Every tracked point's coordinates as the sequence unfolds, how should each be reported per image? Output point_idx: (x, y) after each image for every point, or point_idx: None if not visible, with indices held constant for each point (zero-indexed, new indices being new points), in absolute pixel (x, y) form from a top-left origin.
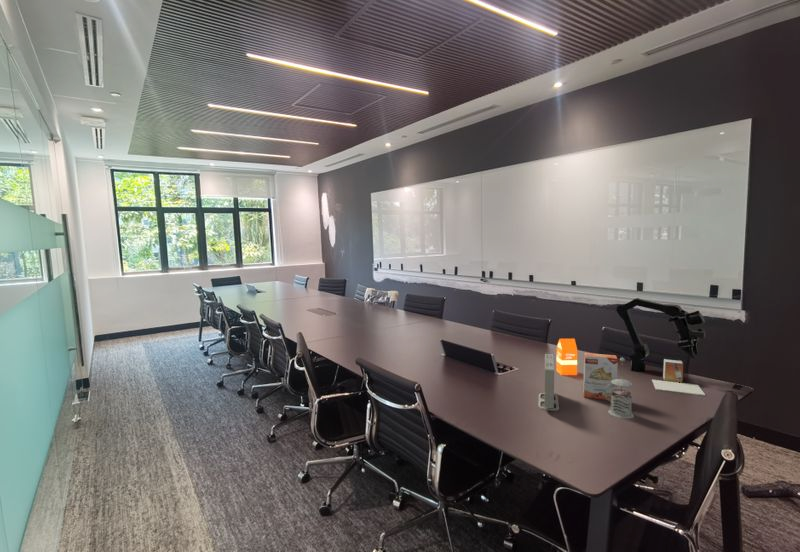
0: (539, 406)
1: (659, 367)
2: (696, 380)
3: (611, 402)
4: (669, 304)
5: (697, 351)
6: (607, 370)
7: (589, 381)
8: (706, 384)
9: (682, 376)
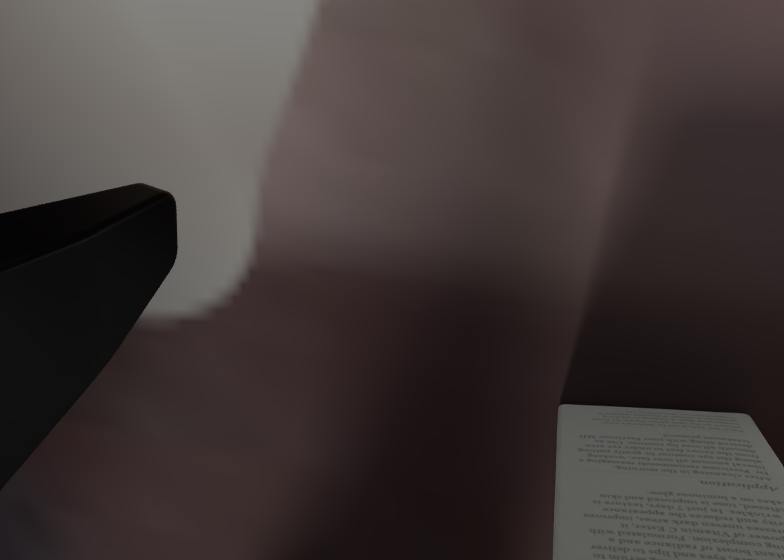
0: None
1: (57, 554)
2: (493, 164)
3: None
4: None
5: (54, 211)
6: None
7: None
8: (677, 32)
9: (780, 464)
